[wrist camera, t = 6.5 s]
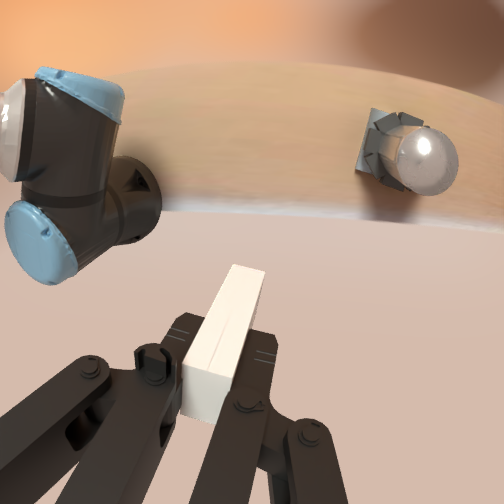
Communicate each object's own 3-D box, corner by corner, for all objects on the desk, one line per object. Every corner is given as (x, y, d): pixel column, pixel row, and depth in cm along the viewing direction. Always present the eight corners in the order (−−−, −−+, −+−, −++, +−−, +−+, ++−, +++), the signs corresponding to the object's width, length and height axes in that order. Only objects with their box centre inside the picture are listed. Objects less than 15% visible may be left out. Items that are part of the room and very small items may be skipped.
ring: (355, 173, 40) (357, 175, 38) (374, 103, 35) (377, 103, 34) (420, 196, 39) (425, 200, 37) (440, 130, 34) (446, 130, 33)
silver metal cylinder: (372, 168, 37) (389, 182, 28) (386, 118, 34) (407, 117, 25) (418, 185, 36) (446, 204, 27) (433, 137, 33) (465, 143, 24)
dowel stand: (355, 167, 41) (366, 182, 31) (371, 108, 37) (388, 103, 27) (417, 190, 40) (445, 211, 30) (434, 132, 37) (468, 137, 26)
